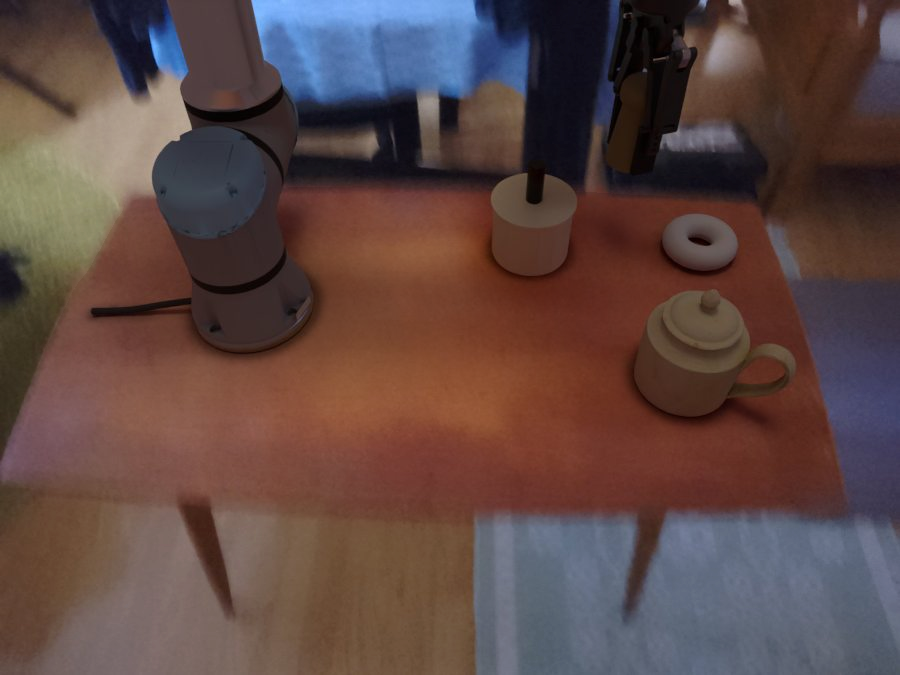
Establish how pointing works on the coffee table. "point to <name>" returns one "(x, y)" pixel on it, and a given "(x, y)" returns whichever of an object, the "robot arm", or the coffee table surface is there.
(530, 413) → the coffee table surface
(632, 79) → the brown pawn
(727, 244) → the donut
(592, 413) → the coffee table surface
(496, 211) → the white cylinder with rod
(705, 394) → the sugar bowl
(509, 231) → the pot
